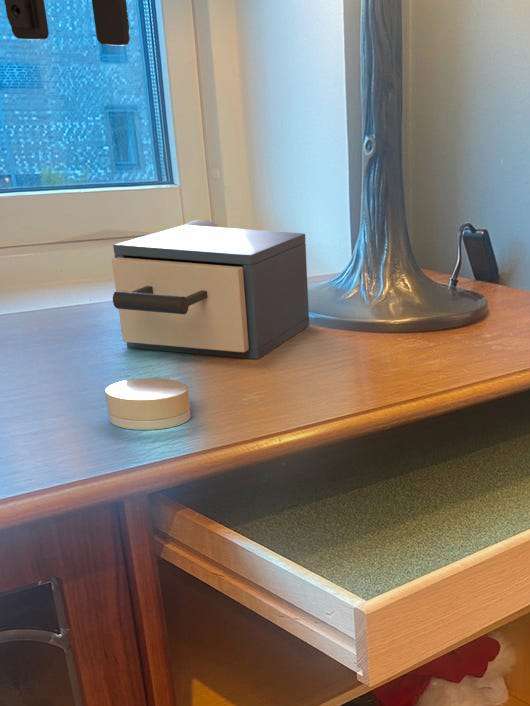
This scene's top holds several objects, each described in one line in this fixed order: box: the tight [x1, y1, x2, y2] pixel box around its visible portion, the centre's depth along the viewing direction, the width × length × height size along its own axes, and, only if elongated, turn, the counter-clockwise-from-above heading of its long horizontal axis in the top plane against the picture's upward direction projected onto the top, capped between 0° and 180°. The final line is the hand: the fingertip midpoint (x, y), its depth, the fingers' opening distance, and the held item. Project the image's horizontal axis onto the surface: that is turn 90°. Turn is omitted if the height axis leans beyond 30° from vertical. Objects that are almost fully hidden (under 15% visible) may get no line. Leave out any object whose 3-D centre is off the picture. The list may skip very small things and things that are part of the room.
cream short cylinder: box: [104, 377, 192, 431], centre depth 71 cm, size 6×6×2 cm
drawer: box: [111, 257, 249, 353], centre depth 87 cm, size 19×12×7 cm, turn 171°
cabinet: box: [112, 224, 310, 360], centre depth 92 cm, size 15×13×9 cm
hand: (74, 42), depth 64 cm, fingers open, 8 cm apart
